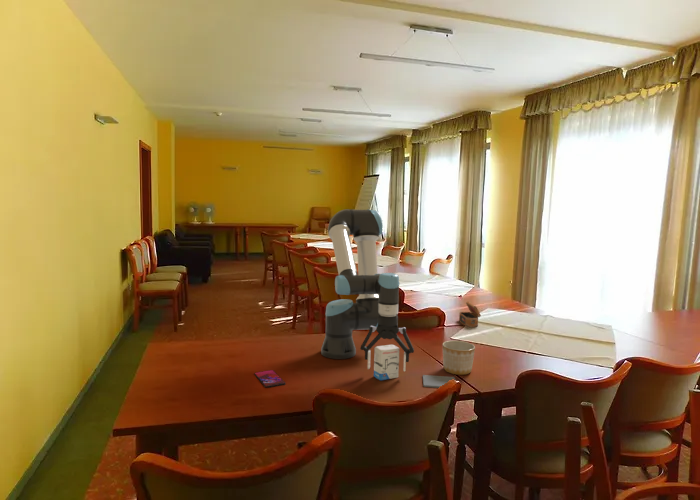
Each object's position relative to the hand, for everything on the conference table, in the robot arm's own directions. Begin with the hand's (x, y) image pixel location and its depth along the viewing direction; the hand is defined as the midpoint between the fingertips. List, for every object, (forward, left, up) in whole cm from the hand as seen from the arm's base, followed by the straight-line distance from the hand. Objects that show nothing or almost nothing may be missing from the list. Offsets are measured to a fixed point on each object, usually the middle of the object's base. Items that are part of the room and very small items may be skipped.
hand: (386, 369), depth 177 cm
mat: (+20, -2, -3) cm, 20 cm away
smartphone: (-43, -10, -4) cm, 44 cm away
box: (+41, +86, -4) cm, 96 cm away
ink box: (0, 0, -4) cm, 4 cm away
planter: (+28, +12, -4) cm, 31 cm away
